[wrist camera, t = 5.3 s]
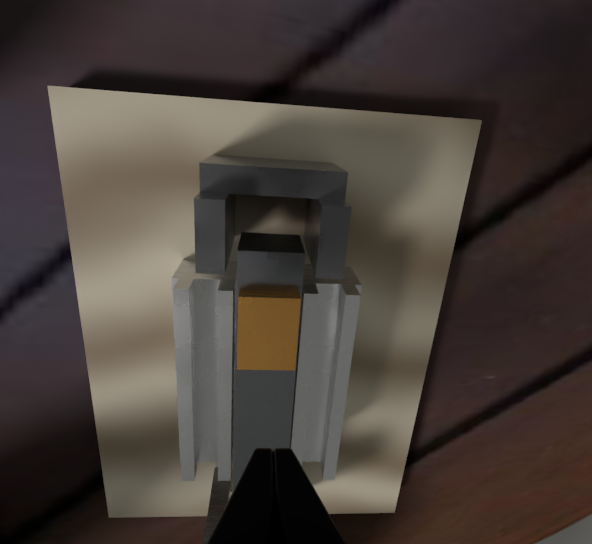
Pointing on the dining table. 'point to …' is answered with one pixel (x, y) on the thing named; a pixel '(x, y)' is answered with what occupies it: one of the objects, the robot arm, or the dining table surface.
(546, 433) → the dining table surface
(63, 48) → the dining table surface
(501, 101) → the dining table surface
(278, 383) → the strap
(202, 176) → the bracket
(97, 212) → the base board
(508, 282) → the dining table surface
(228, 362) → the finned block
